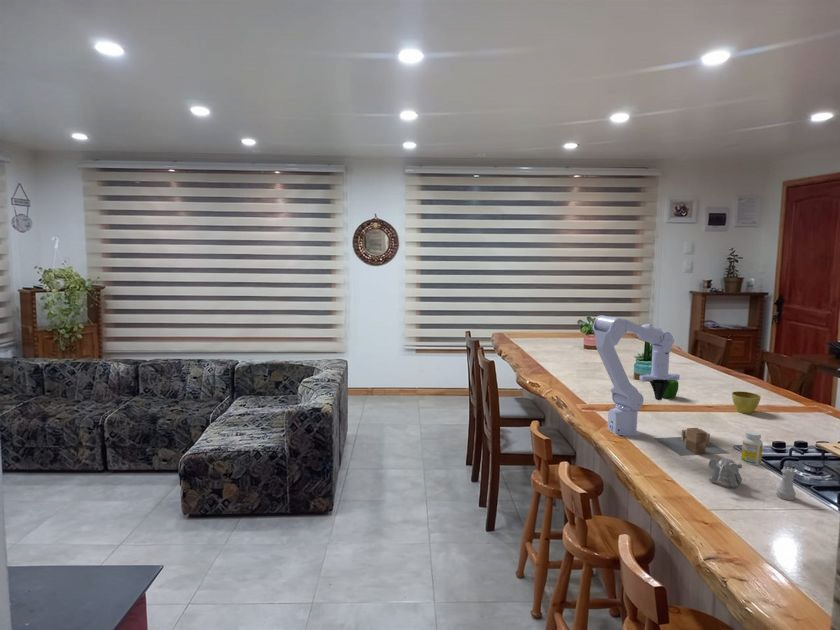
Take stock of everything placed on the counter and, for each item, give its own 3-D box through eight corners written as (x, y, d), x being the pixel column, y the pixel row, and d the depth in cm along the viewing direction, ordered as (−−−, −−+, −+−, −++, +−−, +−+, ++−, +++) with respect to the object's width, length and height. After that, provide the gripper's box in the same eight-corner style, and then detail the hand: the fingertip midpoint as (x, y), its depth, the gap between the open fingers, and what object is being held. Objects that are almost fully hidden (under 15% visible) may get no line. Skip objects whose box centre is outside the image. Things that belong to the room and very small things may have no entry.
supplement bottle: (748, 466, 170) (751, 436, 169) (736, 459, 176) (739, 430, 174) (765, 465, 171) (767, 435, 170) (753, 459, 176) (755, 429, 175)
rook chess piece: (788, 493, 152) (791, 465, 151) (799, 500, 148) (802, 472, 147) (772, 493, 152) (774, 465, 151) (783, 501, 148) (786, 472, 147)
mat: (680, 456, 178) (680, 455, 178) (653, 439, 193) (653, 438, 193) (729, 454, 180) (729, 453, 180) (698, 437, 196) (698, 436, 196)
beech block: (690, 434, 187) (709, 433, 188) (681, 429, 192) (700, 429, 192) (689, 444, 187) (709, 443, 188) (681, 439, 192) (699, 438, 193)
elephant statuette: (739, 480, 161) (741, 454, 160) (748, 496, 150) (750, 468, 149) (704, 476, 164) (705, 451, 163) (710, 491, 153) (711, 464, 152)
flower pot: (763, 416, 219) (765, 398, 218) (735, 414, 221) (736, 397, 220) (753, 409, 229) (755, 392, 228) (726, 407, 231) (728, 390, 230)
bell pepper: (673, 394, 250) (675, 373, 248) (680, 400, 242) (681, 377, 240) (654, 394, 251) (655, 372, 249) (660, 399, 242) (661, 376, 241)
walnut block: (695, 454, 179) (696, 433, 178) (685, 448, 184) (687, 428, 183) (705, 453, 179) (706, 432, 178) (695, 448, 184) (697, 427, 183)
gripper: (647, 366, 198) (645, 403, 200) (685, 365, 200) (683, 401, 202) (637, 362, 205) (635, 398, 207) (673, 360, 207) (672, 396, 209)
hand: (658, 399), depth 205 cm, fingers closed
